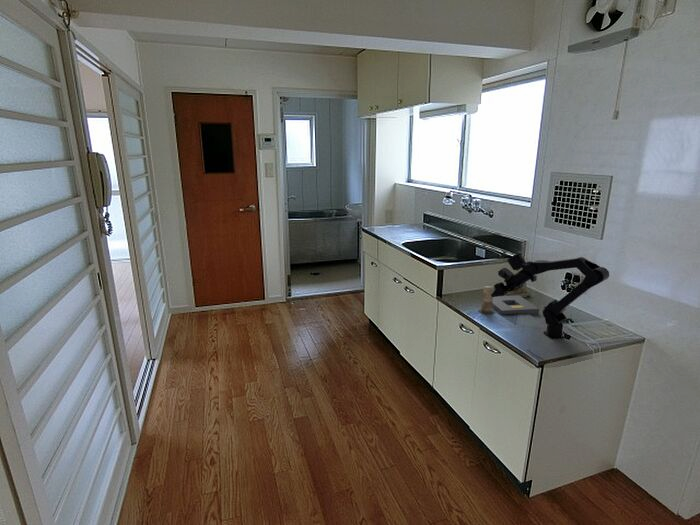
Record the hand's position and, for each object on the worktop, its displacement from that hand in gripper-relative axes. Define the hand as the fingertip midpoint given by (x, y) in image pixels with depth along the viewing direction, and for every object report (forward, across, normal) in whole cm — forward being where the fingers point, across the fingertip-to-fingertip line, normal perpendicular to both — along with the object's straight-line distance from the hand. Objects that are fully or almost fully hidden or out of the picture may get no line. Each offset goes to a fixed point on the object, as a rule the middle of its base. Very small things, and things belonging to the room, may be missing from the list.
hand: (496, 294), depth 197 cm
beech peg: (+11, 0, +4) cm, 12 cm away
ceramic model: (+16, -40, +2) cm, 42 cm away
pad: (+12, 0, +5) cm, 13 cm away
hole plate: (+9, -16, +8) cm, 20 cm away
